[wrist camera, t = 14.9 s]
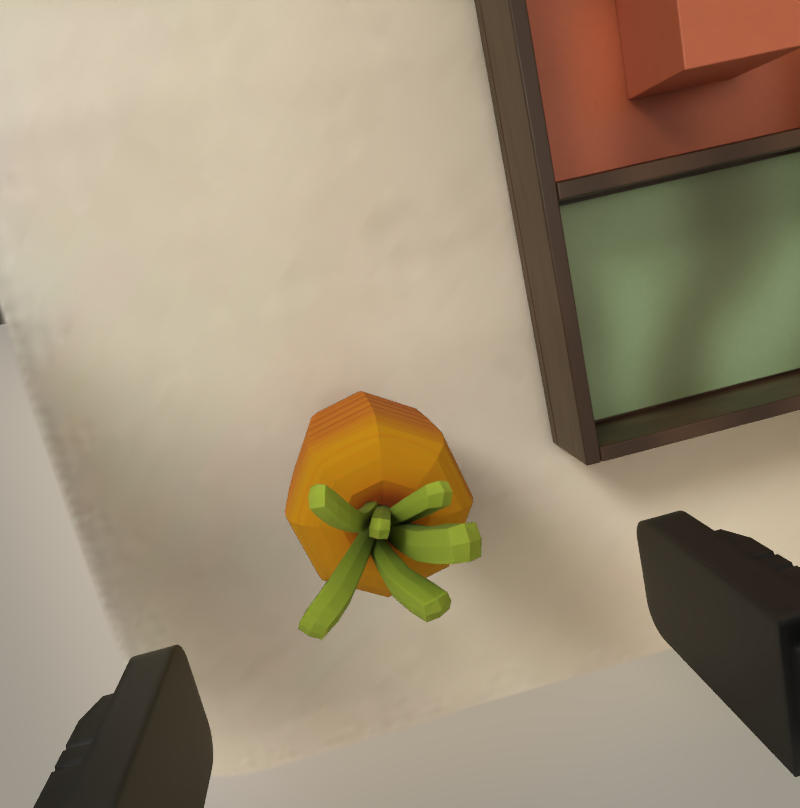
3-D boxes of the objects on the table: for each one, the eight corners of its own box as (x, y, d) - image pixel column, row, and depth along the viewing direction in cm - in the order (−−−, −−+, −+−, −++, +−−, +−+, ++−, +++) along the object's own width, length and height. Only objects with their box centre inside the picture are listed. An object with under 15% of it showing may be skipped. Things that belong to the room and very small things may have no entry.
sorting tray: (552, 442, 29) (586, 466, 25) (460, -75, 24) (486, -132, 21) (850, 365, 30) (922, 378, 26) (813, -141, 26) (893, -206, 22)
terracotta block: (628, 100, 26) (685, 70, 22) (611, -26, 25) (667, -81, 21) (734, 77, 26) (809, 44, 22) (721, -47, 25) (797, -106, 21)
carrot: (298, 485, 28) (287, 723, 13) (288, 365, 27) (262, 479, 12) (418, 474, 28) (534, 690, 14) (411, 356, 27) (530, 454, 13)
